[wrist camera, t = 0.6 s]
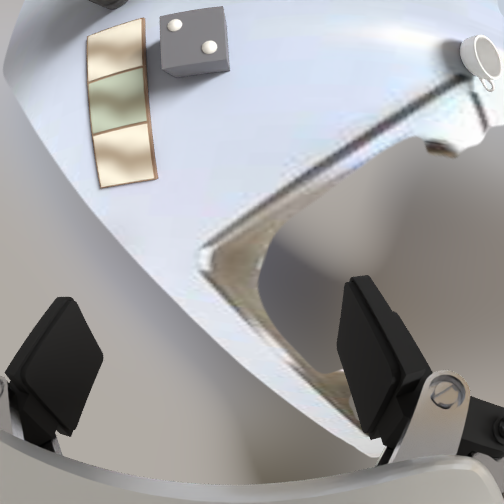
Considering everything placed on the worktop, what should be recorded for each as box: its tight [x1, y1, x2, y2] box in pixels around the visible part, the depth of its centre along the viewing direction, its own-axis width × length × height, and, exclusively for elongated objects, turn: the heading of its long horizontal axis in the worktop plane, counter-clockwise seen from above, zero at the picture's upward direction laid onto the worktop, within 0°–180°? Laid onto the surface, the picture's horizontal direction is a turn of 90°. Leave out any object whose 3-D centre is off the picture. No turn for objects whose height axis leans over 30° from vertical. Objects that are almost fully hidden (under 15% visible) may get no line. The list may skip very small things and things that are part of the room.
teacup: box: [460, 35, 502, 92], centre depth 25 cm, size 10×8×5 cm
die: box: [160, 6, 230, 78], centre depth 26 cm, size 7×7×7 cm
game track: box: [87, 18, 158, 188], centre depth 31 cm, size 24×9×1 cm, turn 4°
